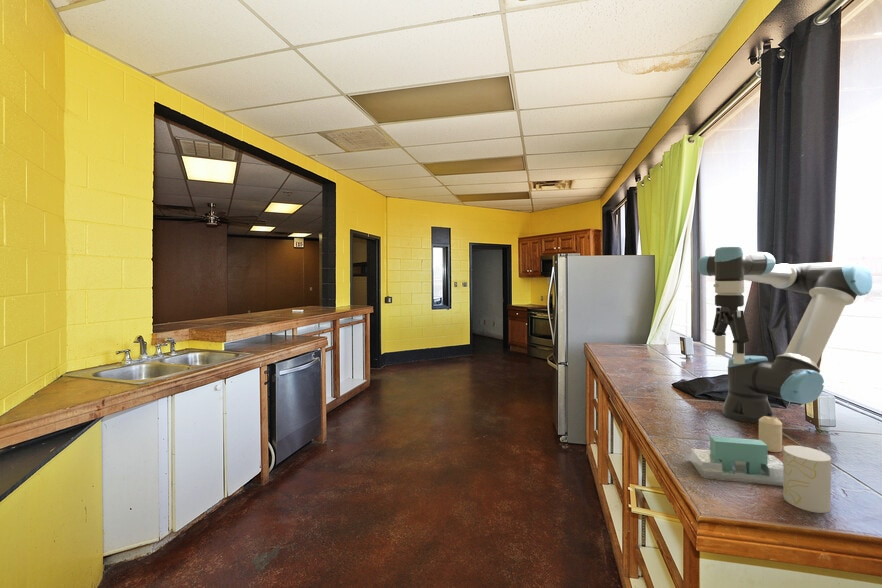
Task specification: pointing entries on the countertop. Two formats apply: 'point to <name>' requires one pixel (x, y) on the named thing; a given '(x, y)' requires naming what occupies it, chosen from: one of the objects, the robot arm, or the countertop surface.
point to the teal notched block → (739, 452)
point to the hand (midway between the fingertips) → (729, 359)
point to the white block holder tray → (737, 469)
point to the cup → (807, 478)
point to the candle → (771, 433)
